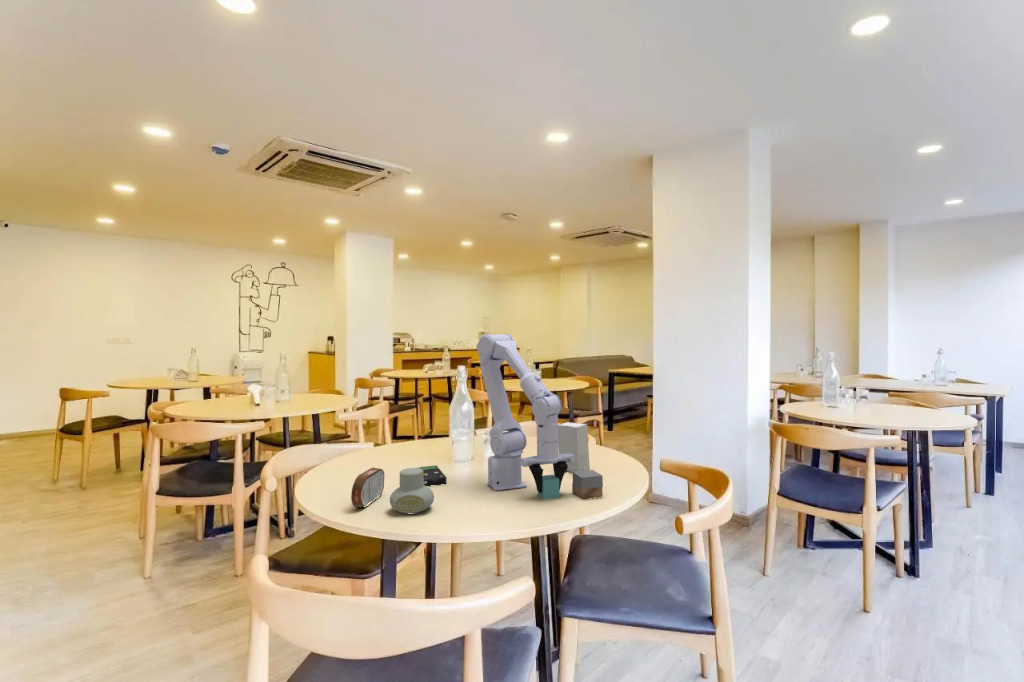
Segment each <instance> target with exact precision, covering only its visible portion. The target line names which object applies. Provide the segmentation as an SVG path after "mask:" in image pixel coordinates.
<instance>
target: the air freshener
mask: <svg viewBox="0 0 1024 682" xmlns="http://www.w3.org/2000/svg"><path fill="white" fill-rule="evenodd" d="M434 500H435V493H434V492H433V490H432V489H431V488H430V487H429V486H428V487H427V486H425V485H424V477H423V470H422V469H420V468H419V467H410V468H408V469H407V468H405V469H401V471H400V472H399V487H397V488H396V489H395V490H394V491H392V493H391V494H390V496H389V504H390V506H391V508H392V509H394V511H397V512H399V513H401V514H404V513H416V514H418V513H417V512H419V513H422V512H423V511H426V510H427V509H428V508H429V507H430V506H431V505H432V504H433V503H434ZM421 511H422V512H421Z"/></svg>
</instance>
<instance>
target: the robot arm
mask: <svg viewBox="0 0 1024 682" xmlns="http://www.w3.org/2000/svg"><path fill="white" fill-rule="evenodd" d="M517 347H518V344H517V342H516V340H515V339H514V336H512V335H511V334H510V333H504V334H502V333H501V334H499V333H498V334H488V333H485V334H482V335H481V336H480V338H479V340H478V342H477V345H476V351H477V354H478V358H479V367H480V371H481V375H482V378H483V382H484V386H485V390H486V394H487V395H486V396H487V398H488V402H489V403H488V404H489V406H490V411H491V414H492V418H493V422H494V424H493V426H492V427H491V429H490V430H489V437H490V441H489V445H490V446H489V447H490V450H491V451H492V453H493V456H492V455H491V456H489V457H488V460H487V476H488V477H487V484H488V485H489V486H490V487H491V488H492V489H493V490H494V491H504V490H513V489H520V488H527V484H525V483H524V481H523V480H522V467H523V468H529V471H530V473H531V475H532V477H533V480H534V483H535V487H536V492H537V493H538V492H539V493H542V476H544V475H543V473H544V469H543V468H542V466H541V465H551V464H552V467H553V475H554V476H556V477H557V478H559V492H560V490H561V487H562V486H561V485H562V482H563V479H564V477H565V473H566V472H567V471H566V470H567V468H568V465H567V464H566V462H574V455H573V454H559V448H558V425H559V414H561V412H562V409H563V404H562V400H561V399H560V398H561V397H560V396H559V395H557V394H555V393H552V391H550V389H548V388H547V386H546V384H544V382H543V381H542V377H541V375H539V374H537V373H532V372H531V371H530V369H529V367H528V366H527V364H526V362H525V361H524V359H523V357H522V356H521V354H520V353H519V351H518V349H517ZM504 362H506V363H507V364H508V366H509V367H510V368H511V369H512V371H513V372H514V373H515V374H516V375H517V377H518V378H519V379H520V382H519V387H520V388H521V389H522V391H523V393H524V394H525V395H526V397H527V399H528V400H529V401H530V403H531V404H532V406H531V412H532V414H533V416H534V420H535V423H536V455H533V456H528V457H522V454H523V453H524V450H525V448H526V447H527V435H526V434H525V432H524V431H523V429H522V427H521V426H522V425H521V424H520V423H519V422H518V421H517V420H515V419H514V418H513V414H512V411H511V406H510V403H509V399H508V394H507V392H506V391H507V390H506V388H505V384H504V380H503V375H502V371H501V369H500V368H501V366H502V364H503V363H504Z"/></svg>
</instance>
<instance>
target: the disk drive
mask: <svg viewBox="0 0 1024 682" xmlns="http://www.w3.org/2000/svg"><path fill="white" fill-rule="evenodd" d="M418 468H420V469H422V470H423V477H424V485H425V486H428V487H432V486H431V485H437V486H442V485H441V484H445V485H447V476H446V475H445V474H444V473H443V472H442V470H441V469H440V468H439V466H438V465H427V466H420V467H418ZM406 469H408V468H406Z"/></svg>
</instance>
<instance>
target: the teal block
mask: <svg viewBox="0 0 1024 682" xmlns="http://www.w3.org/2000/svg"><path fill="white" fill-rule="evenodd" d="M537 495H538V496H539V497H540V498H542V500H551V499H552V500H553V499H557V498H560V495H561V494H560V491H559V478H557V477H556V476H554V474H544V475H542V493H539V492H538V491H537Z"/></svg>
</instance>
